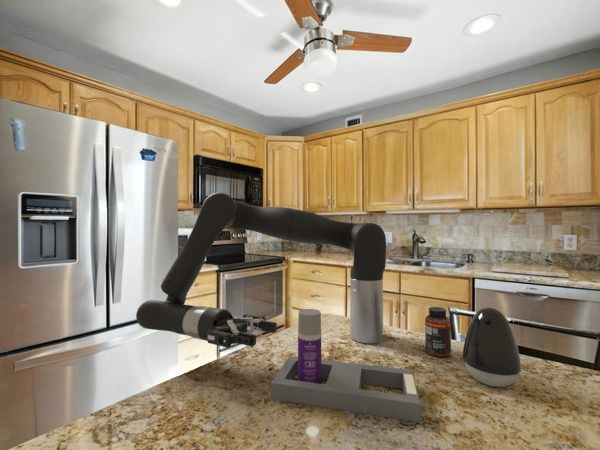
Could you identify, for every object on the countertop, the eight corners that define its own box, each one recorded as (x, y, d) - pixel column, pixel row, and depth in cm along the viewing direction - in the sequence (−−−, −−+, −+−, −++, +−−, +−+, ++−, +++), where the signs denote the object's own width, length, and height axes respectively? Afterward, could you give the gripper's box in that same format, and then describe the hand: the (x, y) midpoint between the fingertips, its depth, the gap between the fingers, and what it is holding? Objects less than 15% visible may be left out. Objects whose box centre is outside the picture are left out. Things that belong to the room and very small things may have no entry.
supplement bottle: (445, 348, 79) (445, 305, 79) (455, 358, 73) (454, 312, 73) (422, 348, 79) (422, 305, 79) (429, 357, 73) (429, 311, 73)
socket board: (289, 369, 67) (289, 355, 67) (412, 384, 61) (412, 369, 61) (270, 398, 56) (270, 381, 56) (420, 422, 49) (420, 402, 49)
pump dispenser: (456, 381, 62) (456, 308, 62) (469, 364, 70) (469, 299, 70) (516, 401, 55) (516, 318, 55) (524, 379, 63) (523, 307, 63)
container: (304, 395, 57) (304, 316, 57) (293, 384, 61) (293, 310, 61) (325, 389, 59) (325, 313, 59) (313, 378, 63) (313, 307, 63)
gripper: (184, 315, 64) (247, 326, 58) (227, 301, 77) (282, 308, 71) (184, 350, 64) (247, 365, 58) (226, 329, 77) (282, 340, 71)
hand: (266, 333), depth 64 cm, fingers open, 8 cm apart
